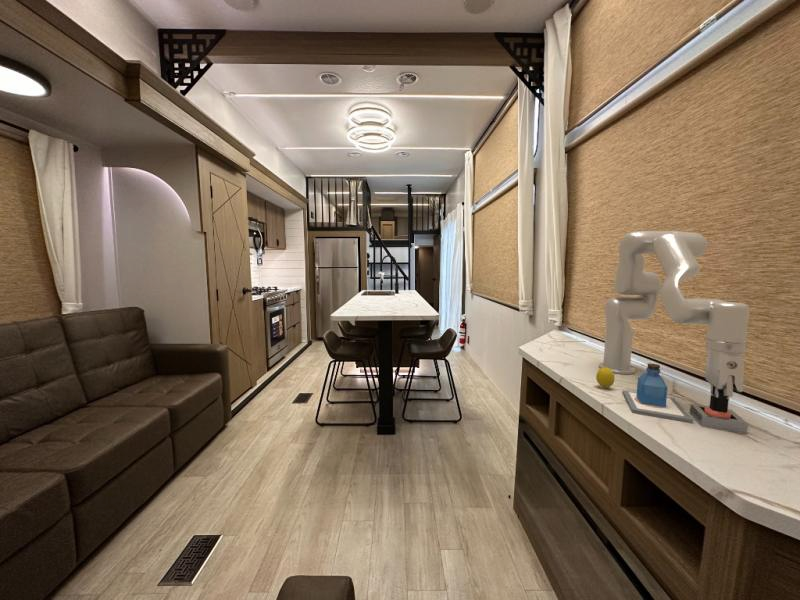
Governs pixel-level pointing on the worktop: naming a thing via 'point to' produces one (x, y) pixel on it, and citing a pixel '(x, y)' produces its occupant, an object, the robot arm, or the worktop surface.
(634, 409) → the board
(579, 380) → the worktop surface
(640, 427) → the worktop surface
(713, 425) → the button base
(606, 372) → the lemon
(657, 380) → the perfume bottle
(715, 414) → the button
